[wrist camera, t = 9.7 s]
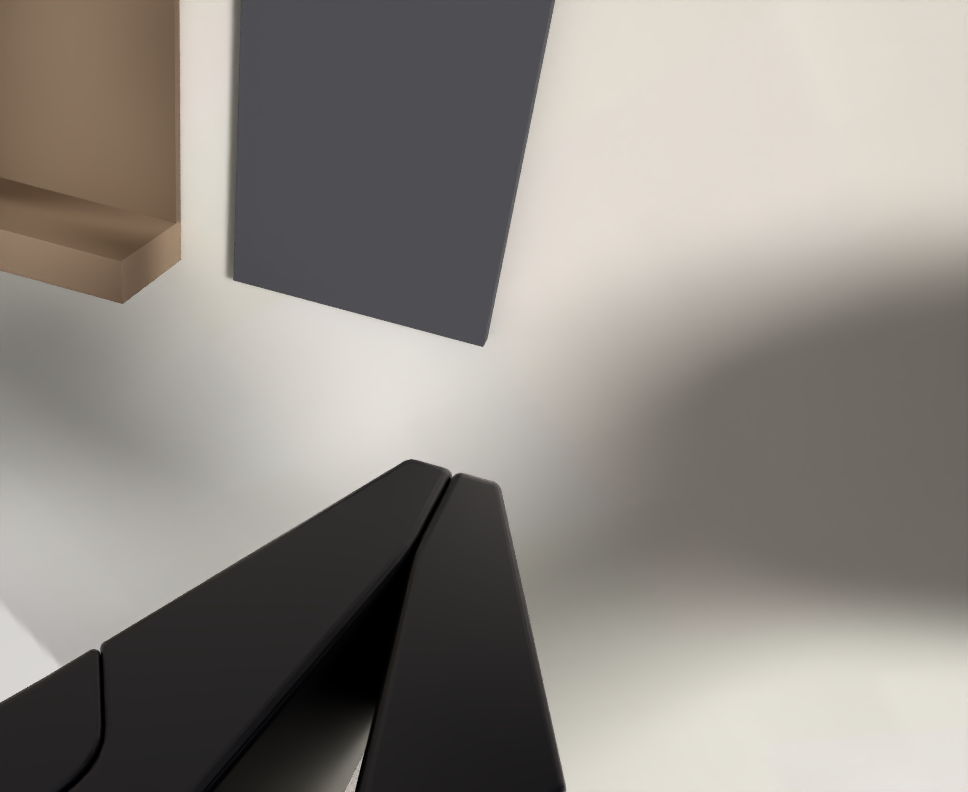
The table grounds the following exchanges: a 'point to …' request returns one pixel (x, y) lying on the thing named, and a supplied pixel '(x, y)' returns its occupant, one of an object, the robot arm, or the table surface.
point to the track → (90, 143)
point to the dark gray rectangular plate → (384, 152)
